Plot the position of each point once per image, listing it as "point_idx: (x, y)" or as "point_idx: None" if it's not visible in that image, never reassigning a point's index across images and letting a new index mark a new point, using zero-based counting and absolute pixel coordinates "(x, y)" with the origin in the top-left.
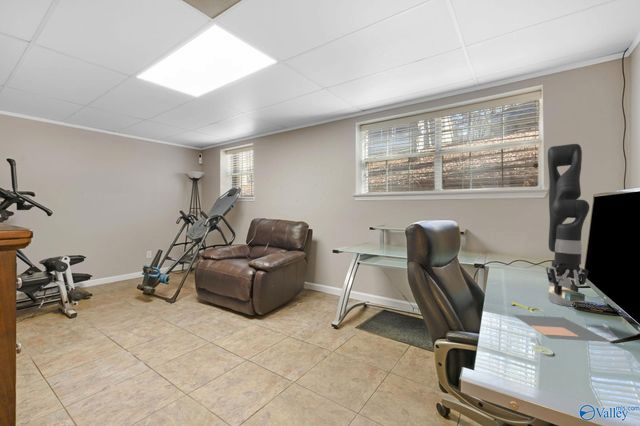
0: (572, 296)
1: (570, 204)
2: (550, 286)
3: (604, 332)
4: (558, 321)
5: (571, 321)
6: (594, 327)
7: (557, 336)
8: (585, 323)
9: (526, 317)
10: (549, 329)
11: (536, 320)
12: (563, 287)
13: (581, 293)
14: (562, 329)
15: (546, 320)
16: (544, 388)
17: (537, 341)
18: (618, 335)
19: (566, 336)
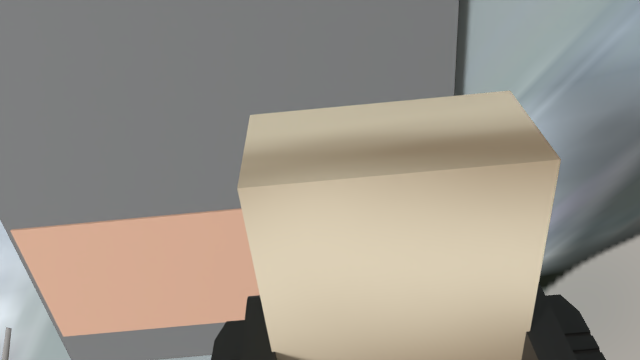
0: None
1: None
2: (244, 219)
3: (562, 184)
4: (316, 76)
5: (455, 44)
6: (581, 103)
7: (137, 339)
8: (590, 21)
9: (29, 42)
10: (133, 262)
11: (104, 103)
12: (503, 238)
13: None
14: (234, 243)
15: (207, 77)
16: None
17: None
18: (617, 212)
19: (197, 327)
